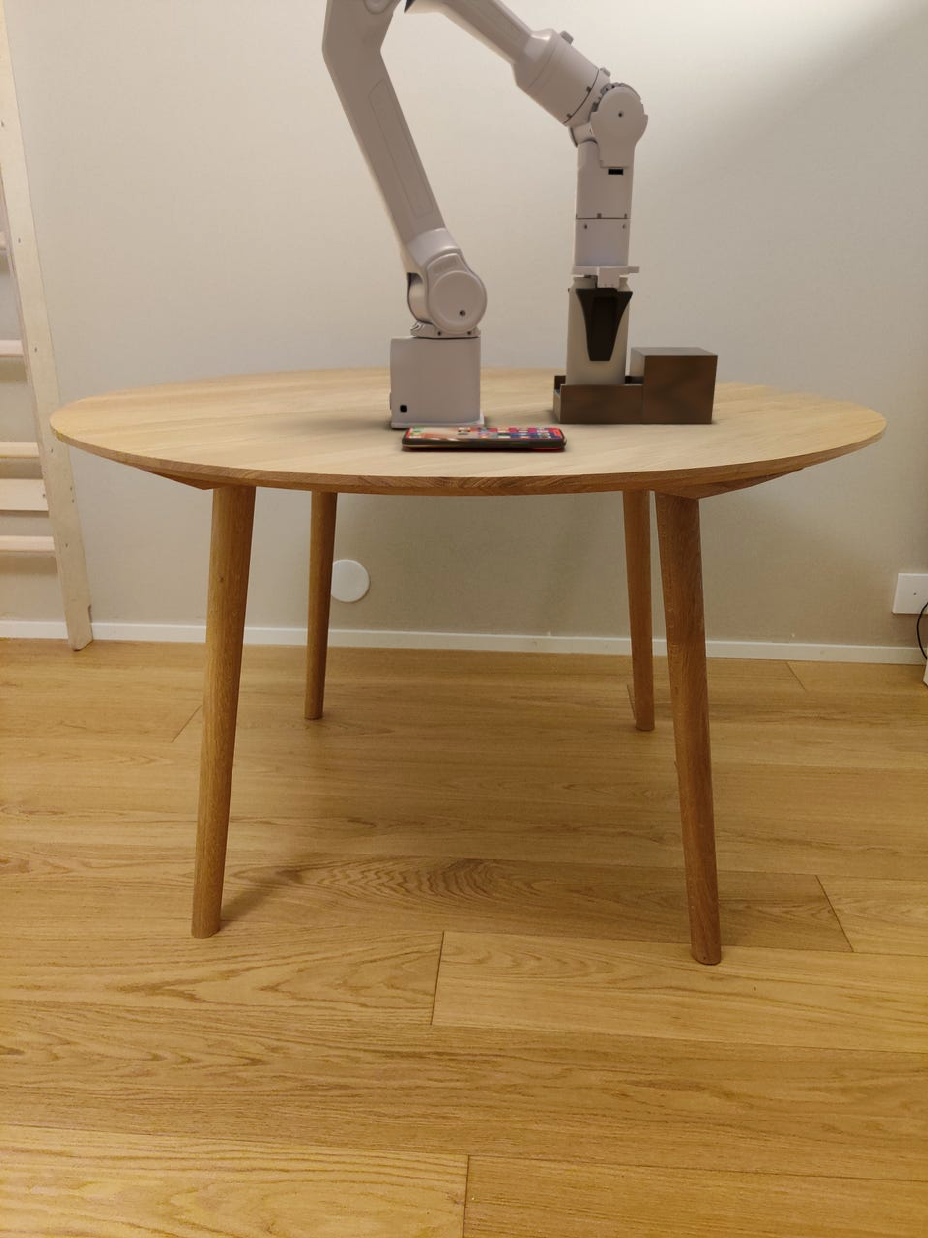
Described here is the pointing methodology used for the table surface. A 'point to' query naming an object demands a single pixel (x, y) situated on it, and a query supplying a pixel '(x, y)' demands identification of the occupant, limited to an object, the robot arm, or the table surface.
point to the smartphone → (483, 437)
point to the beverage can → (577, 353)
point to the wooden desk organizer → (645, 391)
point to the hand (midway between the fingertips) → (595, 357)
